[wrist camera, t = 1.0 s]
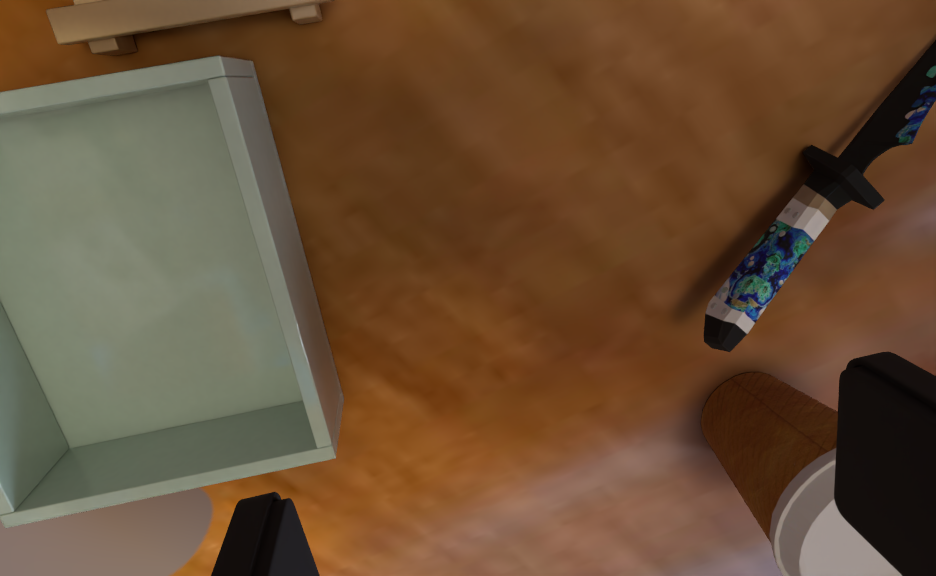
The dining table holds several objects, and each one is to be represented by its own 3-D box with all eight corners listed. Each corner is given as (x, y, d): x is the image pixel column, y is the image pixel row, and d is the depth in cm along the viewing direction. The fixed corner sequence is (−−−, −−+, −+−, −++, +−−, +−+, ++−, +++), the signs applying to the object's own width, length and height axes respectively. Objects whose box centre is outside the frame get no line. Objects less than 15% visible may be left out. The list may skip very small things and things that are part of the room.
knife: (688, 336, 36) (735, 364, 32) (658, 306, 35) (701, 331, 31) (1049, -55, 34) (1149, -80, 30) (1028, -98, 33) (1128, -130, 29)
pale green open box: (-94, 118, 28) (-216, 127, 23) (252, 59, 29) (219, 55, 24) (67, 456, 35) (4, 528, 30) (344, 399, 36) (336, 458, 31)
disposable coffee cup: (799, 464, 42) (947, 603, 31) (671, 479, 41) (776, 627, 30) (821, 343, 39) (994, 449, 28) (683, 355, 38) (806, 470, 27)
